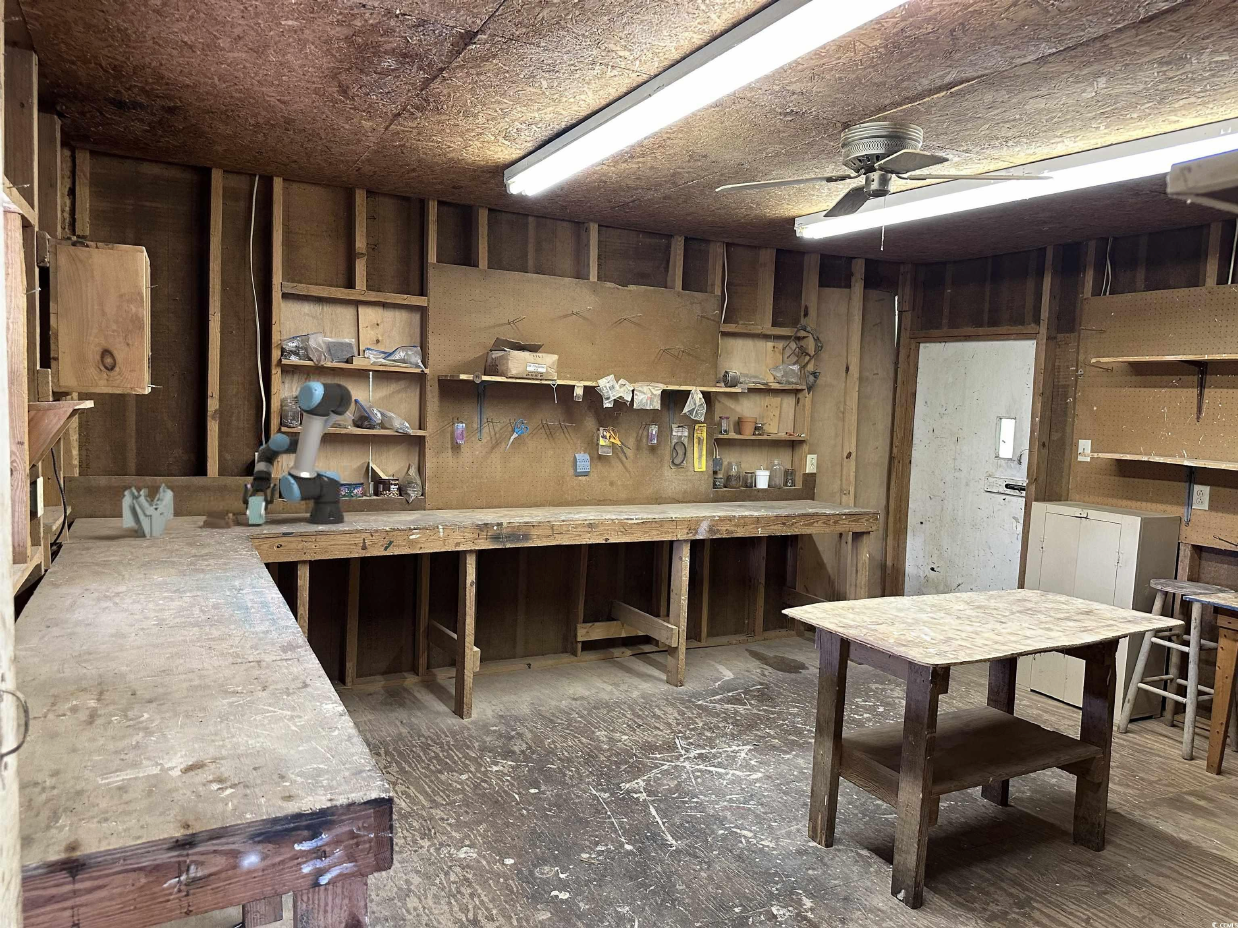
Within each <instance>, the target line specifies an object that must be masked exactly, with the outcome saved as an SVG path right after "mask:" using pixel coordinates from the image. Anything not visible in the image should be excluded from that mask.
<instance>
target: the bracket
mask: <svg viewBox="0 0 1238 928" xmlns="http://www.w3.org/2000/svg"><path fill="white" fill-rule="evenodd" d="M148 489H149V488H146V487H145V488H142V489H141V491H140V492H139V493H138V492H137V490H136V489H135V487H134V486H132V488H128V489H126V491H124V495H125V496H124V497H123V499H122V500H121V501H122V503H121V505H122V528H123V529H124V528H129V527H133V526H134V527H136V526H137V537H141V536H145V538H146V537H147V538H154V537H153V536H155V537H159V535H160V534H163V533H164V530H165V526H166V524H167V521H169V520H173V519H174V492H173V491H171V489H170V488H169V489H168V488H167V485H165V483H162V484H161V487H160V489H159V491H158V492H157V495H156V496H155V498H154V499H153V502H151V499H150V498H149V497H146V496H147V495H148V493H149V491H148ZM150 536H151V537H150ZM160 536H161V535H160Z"/></svg>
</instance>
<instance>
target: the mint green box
mask: <svg viewBox="0 0 1238 928" xmlns="http://www.w3.org/2000/svg"><path fill="white" fill-rule="evenodd" d="M263 502H265V498H264V495H263V496H262V495H261V496H259V495H258V496H257V495H255V496H253V497H250V498H249V518H248V523H249V524H254V525H256V524H257V525H258V524H263V523H265V522H266V513H265V514H264V518H262V516H261V511H262V505H263Z"/></svg>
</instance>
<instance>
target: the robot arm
mask: <svg viewBox="0 0 1238 928" xmlns="http://www.w3.org/2000/svg"><path fill="white" fill-rule="evenodd" d="M297 401H298V402H297V403H298V407H299V408H300V411H301V412H302V414H303V417H302V423H301V429H300V432H299V435H298V436H297V437H289V436H287V435H286V434H282V433H280V432H279V433H275V434H274V435H273V436H272V437H271V438H270V439H269V441H268V442H267V443H266V444H264V445H261V446H260V447H259V449H258V451H257V456H256V460H255V467H254V471H253V476H252V481H251V482H250V483H249V484H247V483H245V484H244V485H243V486H244V490H243V495H242V497H241V498H242V499H241V502H242V504H243V505H244V506H245V511H246V517H247V519H249V498H250V497H253V496H257V495H258V493H263V496H264V498H265V502H263V505H262V511H261V516H262V518H264V514H265V515H266V512H267V511H268V510H269V505H273V504H274V503H275V496H276V492H277V490H278V485H277V483H272V479H273V472H274V466H275V463H276V461H277V460H278V459H279V457H281V456H282V455H294V462H293V465H292V466H290V467H289V469H288V471H287V474H285V475H283V476H282V477H281V478H280V481H279V489H280V493H281V495H282V496H283V498H284V499H285V500H286V501H287V502H291V503H292V502H295V503H298V502H304V501H305V502H306V501H312V507H311V511H310V513H309V516H308V523H309V522H310V523H309V524H313V523H314V524H317V525H331V524H332V525H333V524H334V525H335V524H341V523H344V522H345V514H344V512H343V509H342V506H341V483H342V481H341V475H340V473H339V472H336V471H335V472H334V471H328V470H327V471H325V470H317V469H316V470H315V467H316V462H317V458H318V453H319V449H320V446H321V445H320V444H321V439H322V436H323V435H324V434H325V433H326V432H327V431H328V430H329V428H330V427H332V425H333V424H334V423H335V422H336V421H337V420H338V419H339V418H340V417H343V416H345V414H347V412H348V411H349V410H350V408H351V406H352V403H353V395H352V392H351V390H350V389H349V388H348V387H347V386H346V385H344V384H343V383H339V382H325V381H324V382H322V381H308V382H306V383H304V384H303V385H302V386H301V387H300V388H299V391H298V393H297ZM251 488H252V491H251V492H250V489H251ZM269 489H270V495H269V496H270V497H268V490H269ZM249 492H250V494H249ZM314 524H313V525H314Z"/></svg>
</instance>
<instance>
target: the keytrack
mask: <svg viewBox="0 0 1238 928" xmlns="http://www.w3.org/2000/svg"><path fill="white" fill-rule="evenodd" d="M239 524H240V520H239V516H237V515H235V516H233V513H227V510H208V511H206V513H205V520H203V523H202V525H201V529H202V528H211V529H232V528H234V527H235V526H238V525H239ZM233 526H234V527H233Z"/></svg>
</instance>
